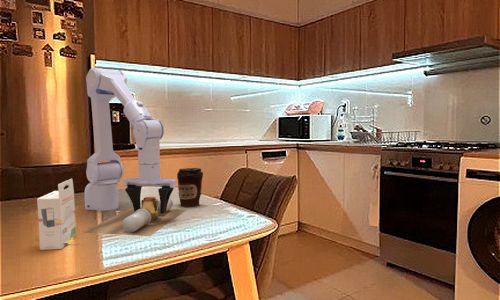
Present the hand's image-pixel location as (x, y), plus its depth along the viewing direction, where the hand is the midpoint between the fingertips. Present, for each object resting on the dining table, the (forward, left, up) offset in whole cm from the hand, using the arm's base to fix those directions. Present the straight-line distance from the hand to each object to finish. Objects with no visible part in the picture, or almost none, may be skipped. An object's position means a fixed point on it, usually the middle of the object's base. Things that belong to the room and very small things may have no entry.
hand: (150, 212), depth 101 cm
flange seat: (0, 0, -2) cm, 2 cm away
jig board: (-3, 0, -3) cm, 4 cm away
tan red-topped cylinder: (0, 0, -2) cm, 2 cm away
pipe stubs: (0, 0, -3) cm, 3 cm away
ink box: (-14, -19, -3) cm, 24 cm away
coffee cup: (+5, +19, -3) cm, 20 cm away
